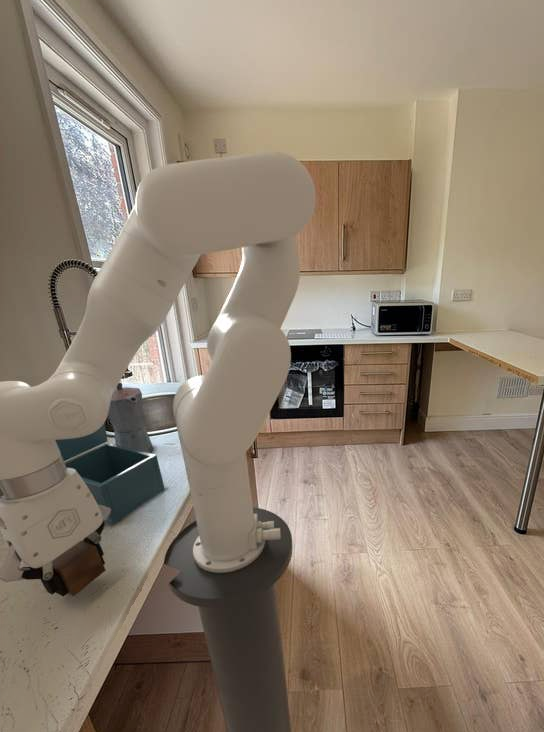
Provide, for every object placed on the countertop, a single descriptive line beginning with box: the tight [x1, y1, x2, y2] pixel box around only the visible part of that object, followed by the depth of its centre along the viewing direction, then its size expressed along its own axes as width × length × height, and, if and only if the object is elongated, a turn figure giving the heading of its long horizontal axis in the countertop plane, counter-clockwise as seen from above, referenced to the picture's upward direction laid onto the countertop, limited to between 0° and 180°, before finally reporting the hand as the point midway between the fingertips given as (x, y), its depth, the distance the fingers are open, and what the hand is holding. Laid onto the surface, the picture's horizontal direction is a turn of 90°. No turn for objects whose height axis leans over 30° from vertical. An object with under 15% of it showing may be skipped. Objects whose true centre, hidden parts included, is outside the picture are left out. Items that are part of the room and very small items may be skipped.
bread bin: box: [64, 442, 165, 526], centre depth 74 cm, size 16×13×9 cm
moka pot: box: [107, 382, 154, 453], centre depth 91 cm, size 10×15×20 cm, turn 60°
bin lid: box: [55, 422, 108, 462], centre depth 72 cm, size 17×13×5 cm
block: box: [53, 540, 107, 597], centre depth 52 cm, size 5×5×5 cm
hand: (79, 575), depth 53 cm, fingers closed on block, 5 cm apart
